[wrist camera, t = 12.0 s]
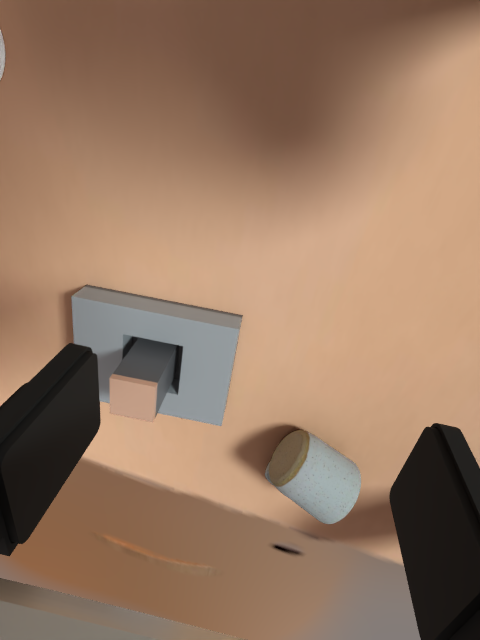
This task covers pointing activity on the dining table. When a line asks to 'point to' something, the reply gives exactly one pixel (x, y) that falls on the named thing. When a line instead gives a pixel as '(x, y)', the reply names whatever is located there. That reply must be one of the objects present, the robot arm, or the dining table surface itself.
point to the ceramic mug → (314, 476)
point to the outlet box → (169, 327)
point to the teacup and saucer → (2, 55)
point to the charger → (143, 379)
